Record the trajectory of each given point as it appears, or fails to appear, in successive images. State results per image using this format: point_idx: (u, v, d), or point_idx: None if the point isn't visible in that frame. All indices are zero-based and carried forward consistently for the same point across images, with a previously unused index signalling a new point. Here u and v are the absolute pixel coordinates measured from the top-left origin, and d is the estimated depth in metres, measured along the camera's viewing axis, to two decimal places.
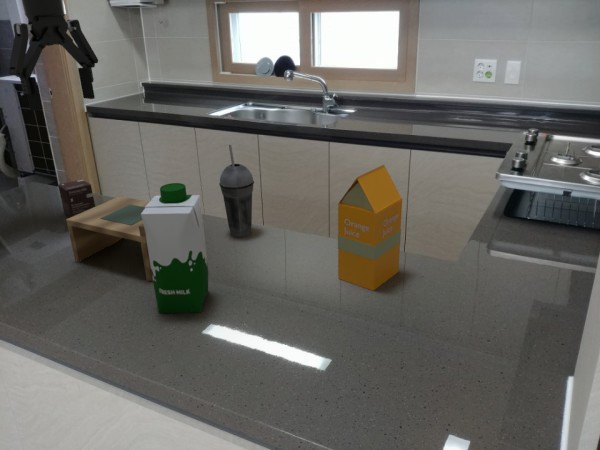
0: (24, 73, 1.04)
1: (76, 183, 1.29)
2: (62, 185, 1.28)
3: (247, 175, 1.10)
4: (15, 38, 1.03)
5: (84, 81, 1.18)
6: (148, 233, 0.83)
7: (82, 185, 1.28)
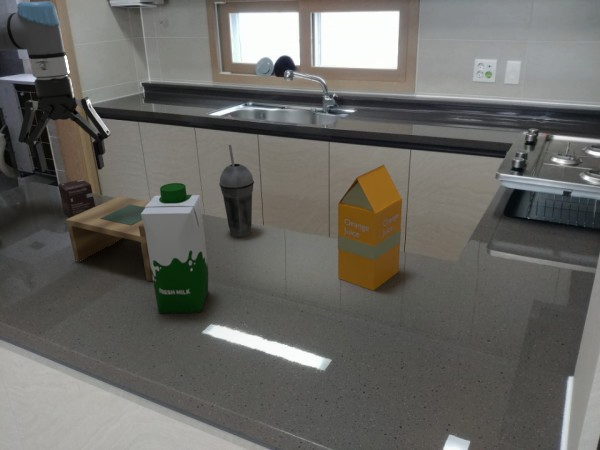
0: (27, 141, 1.23)
1: (76, 183, 1.29)
2: (62, 185, 1.28)
3: (247, 175, 1.10)
4: None
5: None
6: (148, 233, 0.83)
7: (82, 185, 1.28)
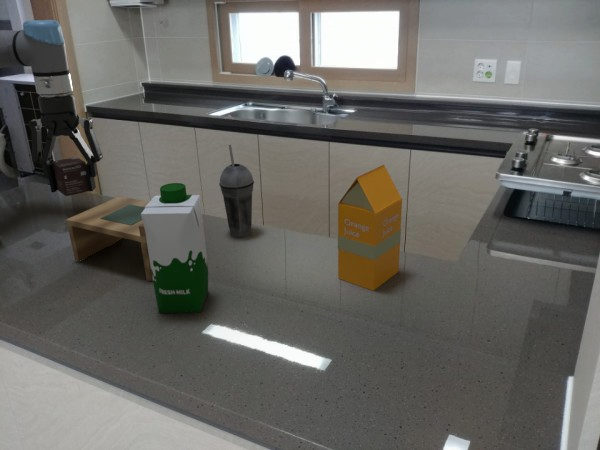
0: (41, 162, 1.25)
1: (70, 160, 1.27)
2: (56, 162, 1.25)
3: (247, 175, 1.10)
4: None
5: None
6: (148, 233, 0.83)
7: (76, 162, 1.25)
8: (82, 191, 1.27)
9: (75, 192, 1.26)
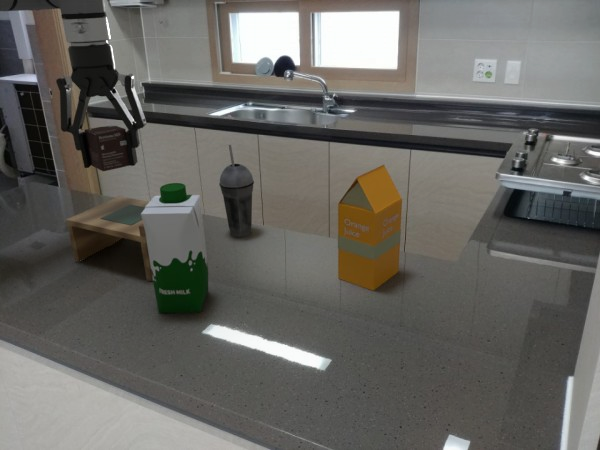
0: None
1: (106, 128, 1.03)
2: (90, 130, 1.02)
3: (247, 175, 1.10)
4: None
5: None
6: (148, 233, 0.83)
7: (114, 129, 1.02)
8: (122, 165, 1.04)
9: (114, 166, 1.03)
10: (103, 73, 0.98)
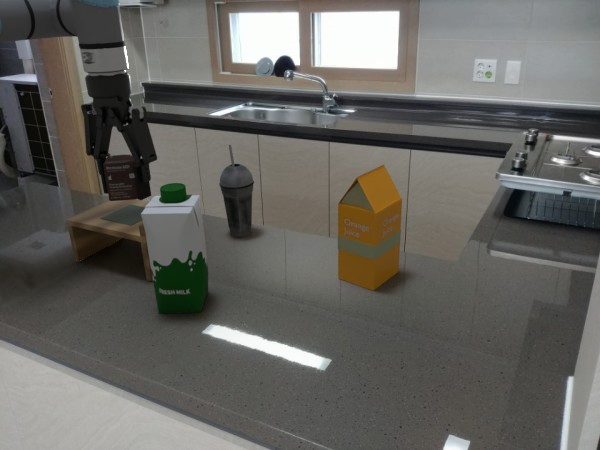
0: None
1: (124, 157, 1.01)
2: (109, 157, 1.01)
3: (247, 175, 1.10)
4: None
5: None
6: (148, 233, 0.83)
7: (126, 161, 0.99)
8: (130, 198, 1.00)
9: (121, 198, 1.00)
10: (115, 104, 0.94)
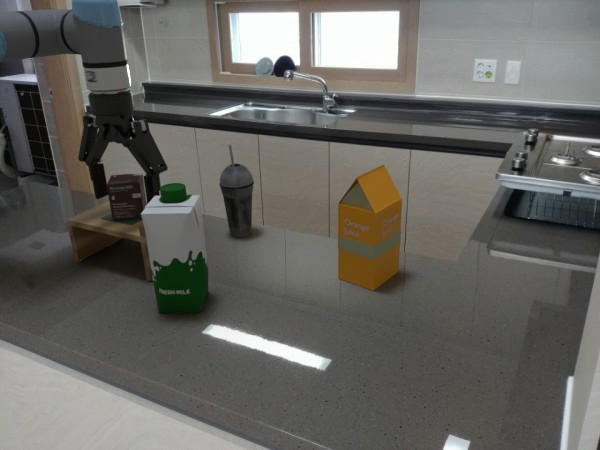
0: None
1: (127, 177, 1.02)
2: (112, 177, 1.03)
3: (247, 175, 1.10)
4: None
5: None
6: (148, 233, 0.83)
7: (130, 181, 1.00)
8: (133, 217, 1.02)
9: (125, 217, 1.02)
10: (117, 121, 0.96)
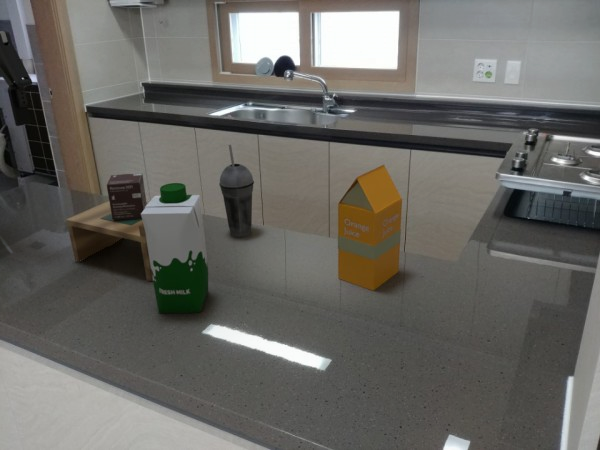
0: None
1: (127, 177, 1.02)
2: (112, 177, 1.03)
3: (247, 175, 1.10)
4: None
5: None
6: (148, 233, 0.83)
7: (130, 181, 1.00)
8: (133, 217, 1.02)
9: (125, 217, 1.02)
10: None
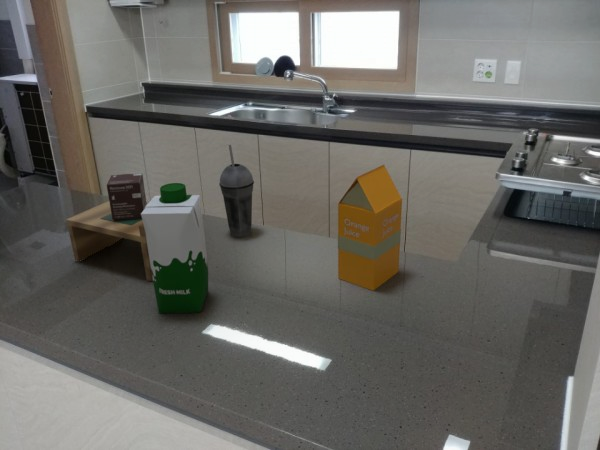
0: None
1: (127, 177, 1.02)
2: (112, 177, 1.03)
3: (247, 175, 1.10)
4: None
5: None
6: (148, 233, 0.83)
7: (130, 181, 1.00)
8: (133, 217, 1.02)
9: (125, 217, 1.02)
10: None
